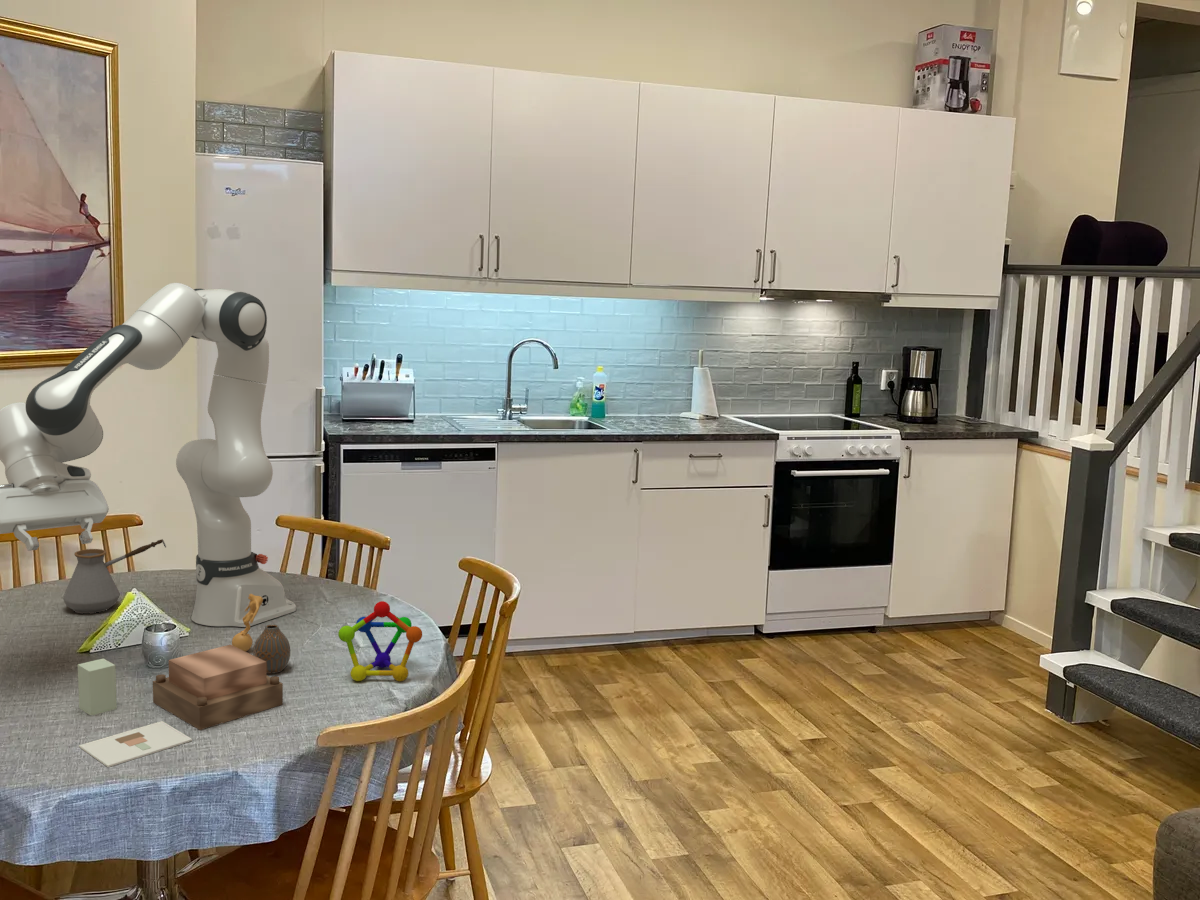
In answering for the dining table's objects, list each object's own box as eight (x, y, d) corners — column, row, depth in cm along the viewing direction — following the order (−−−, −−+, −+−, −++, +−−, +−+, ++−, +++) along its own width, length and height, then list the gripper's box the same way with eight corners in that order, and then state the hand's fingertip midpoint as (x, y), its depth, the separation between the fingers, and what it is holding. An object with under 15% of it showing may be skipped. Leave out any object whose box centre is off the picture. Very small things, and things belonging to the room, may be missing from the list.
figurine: (229, 645, 225) (229, 589, 223) (260, 643, 227) (259, 587, 225) (234, 659, 217) (233, 601, 215) (265, 656, 220) (265, 598, 218)
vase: (297, 666, 215) (297, 623, 214) (276, 678, 209) (276, 634, 207) (267, 661, 217) (267, 618, 216) (245, 672, 211) (245, 629, 209)
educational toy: (409, 663, 222) (417, 592, 220) (417, 688, 210) (426, 612, 208) (330, 661, 217) (338, 588, 215) (335, 686, 205) (343, 609, 203)
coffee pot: (62, 618, 237) (59, 551, 234) (64, 602, 247) (62, 538, 244) (168, 610, 245) (166, 545, 242) (166, 595, 255) (165, 533, 253)
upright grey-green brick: (104, 701, 195) (103, 658, 193) (116, 708, 192) (115, 665, 190) (79, 708, 191) (77, 664, 190) (90, 715, 188) (89, 671, 187)
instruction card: (162, 722, 187) (162, 720, 187) (192, 740, 180) (192, 738, 180) (79, 747, 176) (78, 744, 176) (107, 767, 170) (107, 764, 170)
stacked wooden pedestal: (234, 679, 207) (234, 639, 206) (282, 704, 197) (282, 662, 195) (153, 702, 195) (152, 659, 194) (199, 730, 185) (199, 684, 183)
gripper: (-19, 476, 190) (5, 542, 186) (97, 468, 206) (122, 528, 201) (-30, 497, 194) (-6, 562, 189) (86, 487, 209) (110, 547, 205)
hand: (61, 545), depth 195 cm, fingers open, 8 cm apart
